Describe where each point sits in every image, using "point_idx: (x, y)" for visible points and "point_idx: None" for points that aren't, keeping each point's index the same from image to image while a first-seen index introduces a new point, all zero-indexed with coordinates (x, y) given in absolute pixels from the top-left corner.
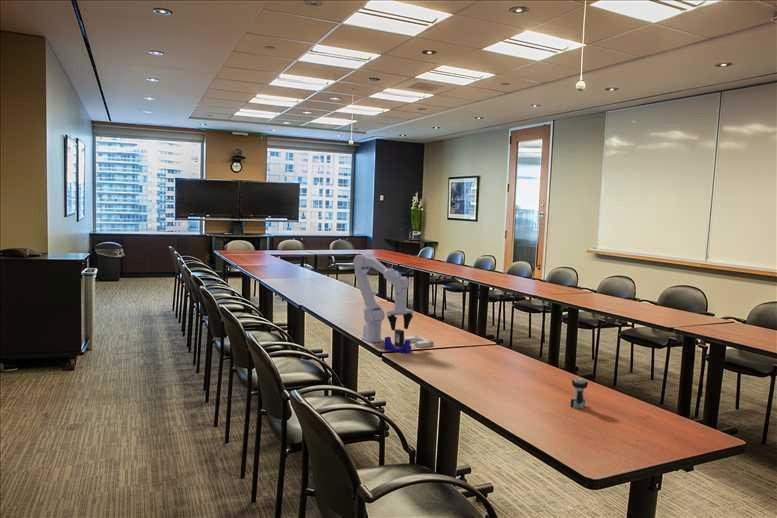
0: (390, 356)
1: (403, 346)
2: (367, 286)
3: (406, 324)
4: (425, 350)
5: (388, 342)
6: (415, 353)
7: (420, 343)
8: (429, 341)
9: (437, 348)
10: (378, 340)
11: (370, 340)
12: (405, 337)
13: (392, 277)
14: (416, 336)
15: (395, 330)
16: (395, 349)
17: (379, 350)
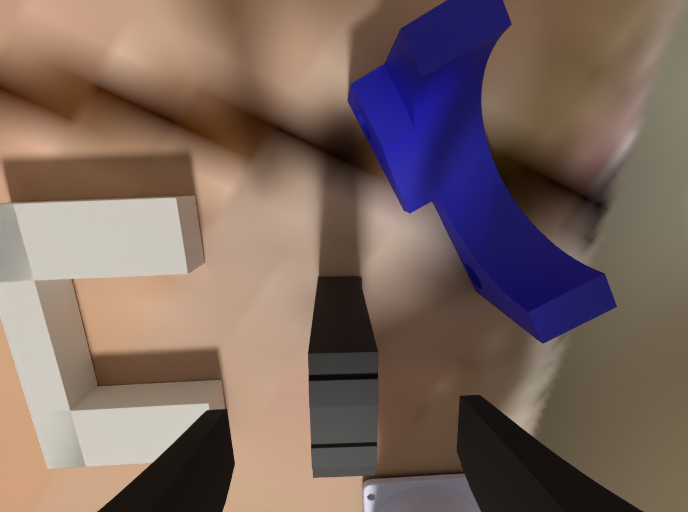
0: (632, 37)
1: (478, 69)
2: None
3: (193, 490)
4: (184, 75)
5: (556, 253)
6: (347, 18)
7: (157, 198)
8: (11, 231)
9: (16, 87)
10: (417, 488)
11: (474, 506)
12: None
13: None
14: (61, 444)
15: (374, 459)
16: (493, 167)
17: None
